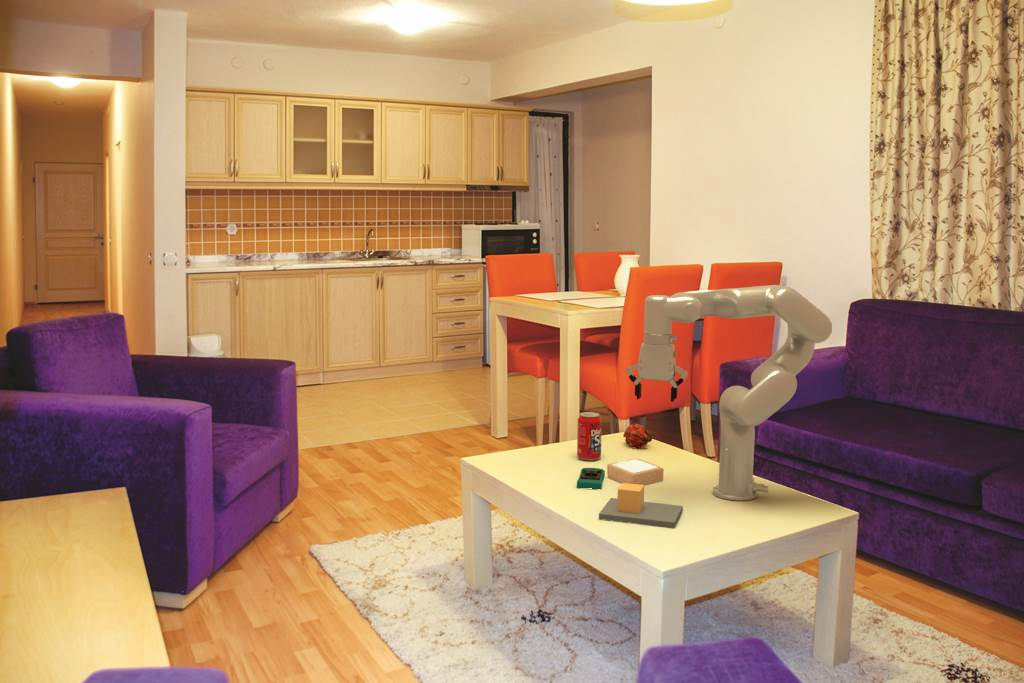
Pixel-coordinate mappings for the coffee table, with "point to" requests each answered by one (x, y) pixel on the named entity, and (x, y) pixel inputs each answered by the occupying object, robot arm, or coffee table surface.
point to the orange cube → (630, 498)
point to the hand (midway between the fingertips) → (655, 399)
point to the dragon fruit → (636, 436)
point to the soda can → (589, 436)
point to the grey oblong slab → (644, 514)
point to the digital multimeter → (591, 478)
